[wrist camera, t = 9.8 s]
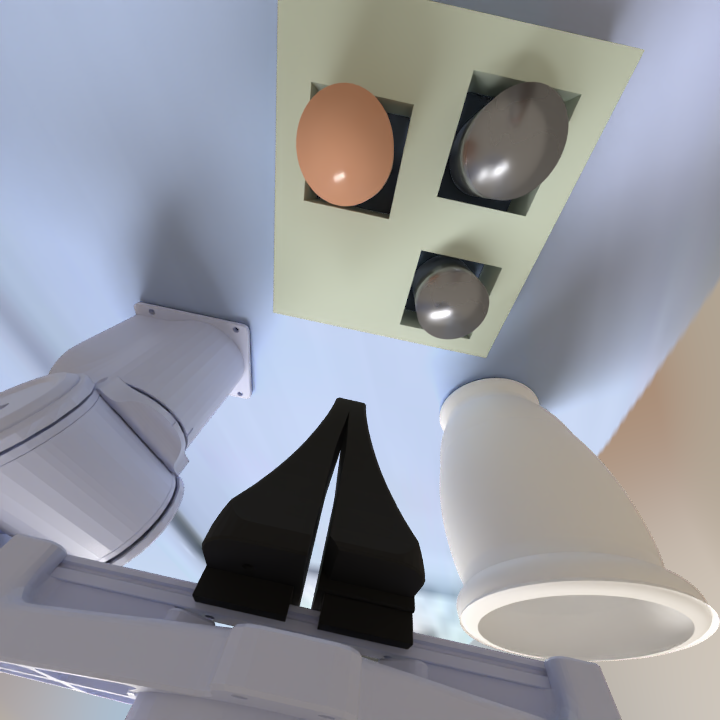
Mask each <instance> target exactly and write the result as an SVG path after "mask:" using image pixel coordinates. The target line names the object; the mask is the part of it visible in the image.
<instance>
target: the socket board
mask: <svg viewBox="0 0 720 720" xmlns="http://www.w3.org/2000/svg"><path fill="white" fill-rule="evenodd" d="M643 52H644V50H643V49H639V48H634V47H630V46H626V45H621V44H617V43H612V42H608V41H604V40H599V39H595V38H591V37H586V36H582V35H578V34H573V33H569V32H565V31H560V30H556V29H552V28H547V27H543V26H539V25H534V24H530V23H526V22H521V21H517V20H512V19H508V18H504V17H499V16H495V15H491V14H486V13H482V12H478V11H473V10H469V9H465V8H460V7H456V6H452V5H447V4H443V3H439V2H434V1H430V0H278V22H277V91H276V160H275V230H274V299H273V313H278V314H282V315H287V316H292V317H297V318H301V319H306V320H311V321H315V322H320V323H325V324H329V325H334V326H339V327H343V328H348V329H353V330H357V331H362V332H367V333H371V334H376V335H381V336H385V337H390V338H395V339H399V340H404V341H409V342H414V343H418V344H423V345H428V346H432V347H437V348H442V349H446V350H451V351H456V352H460V353H465V354H470V355H474V356H479V357H484V358H486V357H487V355H488V353H489V351H490V349H491V347H492V345H493V343H494V341H495V339H496V337H497V335H498V333H499V331H500V329H501V327H502V326H503V324H504V322H505V320H506V318H507V316H508V314H509V312H510V310H511V308H512V306H513V304H514V302H515V300H516V298H517V296H518V295H519V293H520V291H521V289H522V287H523V285H524V283H525V281H526V279H527V277H528V275H529V273H530V271H531V269H532V267H533V265H534V263H535V262H536V260H537V258H538V256H539V254H540V252H541V250H542V248H543V246H544V244H545V242H546V240H547V238H548V236H549V234H550V232H551V231H552V229H553V227H554V225H555V223H556V221H557V219H558V217H559V215H560V213H561V211H562V209H563V207H564V205H565V203H566V201H567V199H568V198H569V196H570V194H571V192H572V190H573V188H574V186H575V184H576V182H577V180H578V178H579V176H580V174H581V172H582V170H583V168H584V167H585V165H586V163H587V161H588V159H589V157H590V155H591V153H592V151H593V149H594V147H595V145H596V143H597V141H598V139H599V137H600V135H601V134H602V132H603V130H604V128H605V126H606V124H607V122H608V120H609V118H610V116H611V114H612V112H613V110H614V108H615V106H616V104H617V102H618V101H619V99H620V97H621V95H622V93H623V91H624V89H625V87H626V85H627V83H628V81H629V79H630V77H631V75H632V73H633V71H634V70H635V68H636V66H637V64H638V62H639V60H640V58H641V56H642V54H643ZM524 82H540V83H543V84H546V85H548V86H550V87H552V88H553V89H554V90H555V91H557V92H558V94H559V95H560V96H561V97H562V99H563V101H564V103H565V106H566V109H567V113H568V123H569V127H568V136H567V141H566V144H565V148H564V150H563V153H562V155H561V157H560V159H559V161H558V163H557V165H556V166H555V168H554V169H553V171H552V172H551V173H550V175H549V176H548V177H547V178H546V179H545V180H544V181H543V182H542V183H541V184H540V185H539V186H538V187H537V188H535V189H534V190H532V191H531V192H529V193H527V194H526V195H523V196H521V197H519V198H515V199H512V200H511V202H510V204H509V207H508V209H507V212H505V211H501V210H496V209H492V208H487V207H482V206H478V205H473V204H469V203H464V202H460V201H455V200H451V199H446V198H442V197H437V195H438V191H439V188H440V184H441V181H442V177H443V174H444V171H445V167H446V164H447V160H448V157H449V153H450V150H451V146H452V143H453V140H454V136H455V133H456V129H457V126H458V122H459V119H460V115H461V112H462V109H463V105H464V102H465V98H466V95H467V92H472V93H476V94H481V95H485V96H489V97H494V98H495V97H496V96H497V95H499V94H500V93H501V92H503V91H504V90H506V89H508V88H510V87H512V86H514V85H517V84H520V83H524ZM336 83H352V84H355V85H358V86H361V87H363V88H365V89H366V90H368V91H369V92H370V93H372V94H373V95H374V96H375V97H376V98H377V99H378V101H379V102H380V103H381V105H382V106H383V108H384V109H385V111H386V112H387V113H392V114H396V115H400V116H405V117H409V118H410V123H409V127H408V132H407V136H406V141H405V146H404V150H403V155H402V159H401V164H400V169H399V173H398V178H397V183H396V187H395V192H394V196H393V201H392V206H391V210H390V214H386V213H381V212H377V211H372V210H368V209H363V208H359V207H354V206H338V205H334V204H331V203H329V202H327V201H325V200H322V199H318V198H316V197H317V194H316V193H315V192H314V191H313V190H312V189H311V187H310V186H309V185H308V183H307V182H306V180H305V178H304V176H303V174H302V172H301V169H300V166H299V163H298V158H297V151H296V136H297V129H298V124H299V121H300V118H301V115H302V113H303V111H304V109H305V107H306V105H307V104H308V102H309V101H310V100H311V99H312V97H313V96H314V95H316V94H317V93H318V92H319V91H320V90H322V89H323V88H325V87H327V86H330V85H332V84H336ZM421 250H423V251H427V252H432V253H436V254H441V255H445V256H450V257H455V258H459V259H464V260H468V261H473V262H478V263H482V264H484V266H483V269H482V271H481V273H480V276H479V278H478V279H479V280H480V281H481V282H482V284H483V285H484V286H485V288H486V290H487V292H488V295H489V309H488V312H487V315H486V317H485V319H484V320H483V322H482V323H481V324H480V325H479V327H478V328H476V329H475V330H474V331H473V332H471V333H470V334H468V335H466V336H463V337H460V338H457V339H440V338H436V337H434V336H432V335H430V334H428V333H427V332H426V331H425V330H424V329H423V328H422V326H421V325H420V323H419V321H418V318H417V313H416V311H412V310H407V309H404V308H405V305H406V301H407V298H408V294H409V291H410V288H411V284H412V281H413V277H414V274H415V270H416V267H417V263H418V260H419V257H420V253H421Z"/></svg>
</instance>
